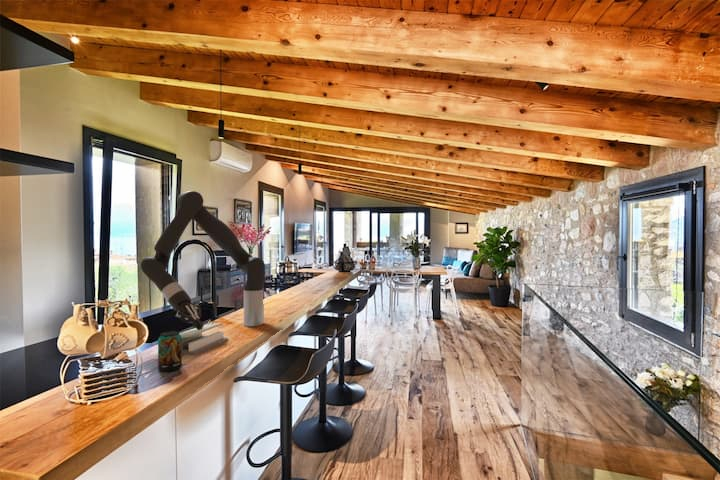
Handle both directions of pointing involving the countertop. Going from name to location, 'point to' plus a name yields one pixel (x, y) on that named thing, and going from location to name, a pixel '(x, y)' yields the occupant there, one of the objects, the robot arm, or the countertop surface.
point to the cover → (196, 331)
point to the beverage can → (169, 351)
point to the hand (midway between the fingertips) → (201, 328)
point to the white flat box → (201, 342)
